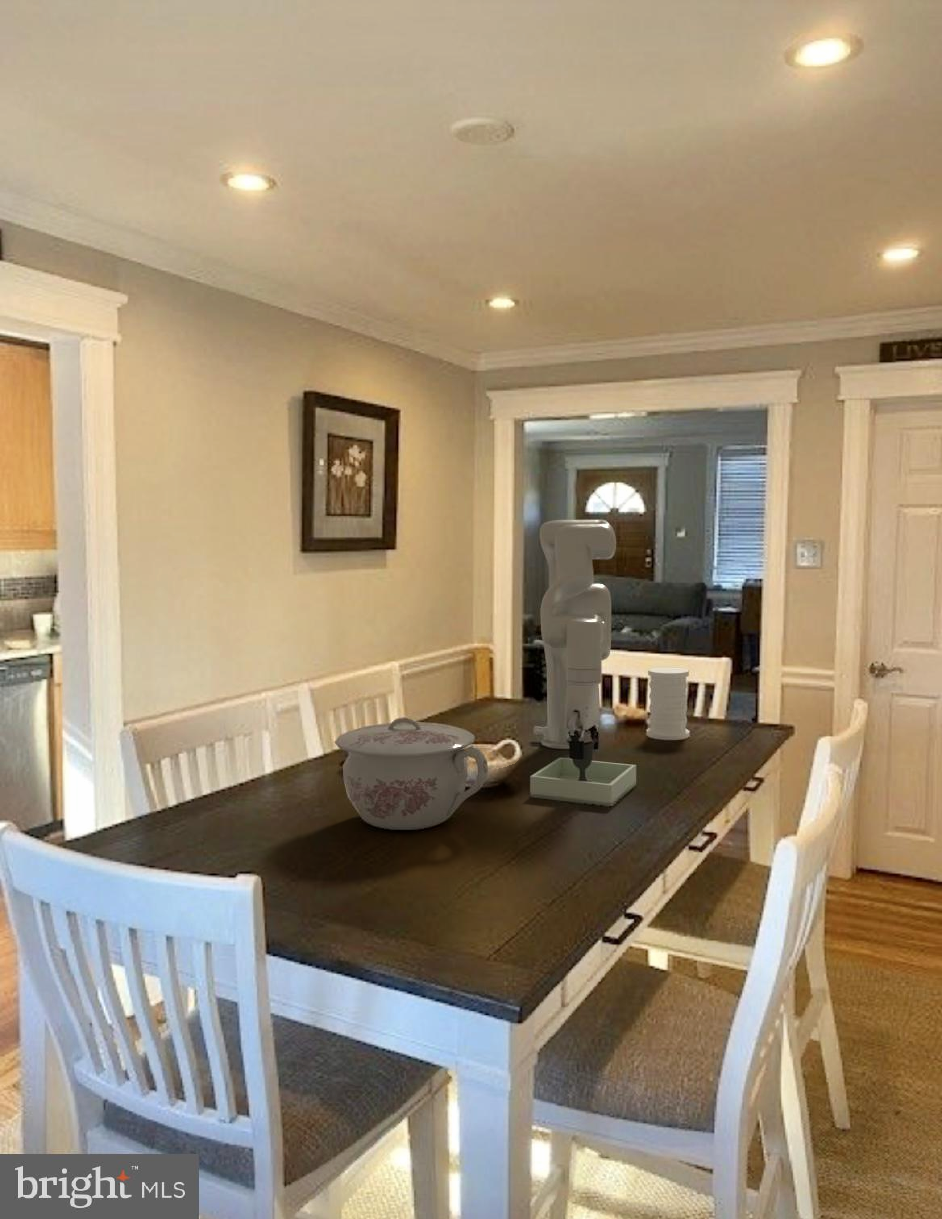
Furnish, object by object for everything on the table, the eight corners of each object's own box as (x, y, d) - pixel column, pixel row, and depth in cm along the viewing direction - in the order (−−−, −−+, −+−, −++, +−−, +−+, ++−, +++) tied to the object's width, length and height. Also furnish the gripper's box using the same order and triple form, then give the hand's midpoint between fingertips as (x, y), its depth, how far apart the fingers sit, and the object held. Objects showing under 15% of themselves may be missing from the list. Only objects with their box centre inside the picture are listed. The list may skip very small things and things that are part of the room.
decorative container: (657, 741, 256) (657, 674, 255) (639, 732, 267) (639, 668, 266) (697, 738, 259) (697, 672, 257) (678, 729, 270) (678, 666, 268)
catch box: (530, 797, 205) (530, 776, 205) (559, 776, 222) (559, 757, 221) (611, 806, 198) (611, 785, 197) (636, 785, 214) (636, 765, 213)
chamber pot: (321, 811, 197) (318, 711, 196) (445, 794, 208) (444, 700, 206) (360, 853, 172) (358, 739, 170) (500, 832, 183) (499, 724, 181)
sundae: (561, 785, 211) (559, 719, 209) (578, 778, 216) (577, 712, 214) (586, 791, 207) (585, 723, 205) (603, 783, 212) (602, 716, 210)
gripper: (580, 669, 217) (580, 743, 218) (553, 680, 201) (553, 761, 203) (612, 670, 214) (612, 746, 215) (587, 683, 198) (587, 764, 200)
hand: (584, 753), depth 209 cm, fingers open, 9 cm apart
